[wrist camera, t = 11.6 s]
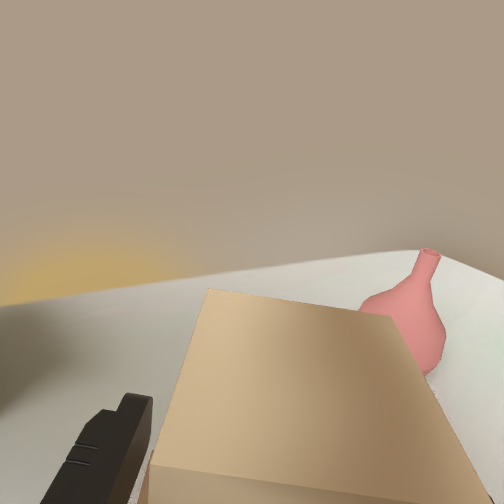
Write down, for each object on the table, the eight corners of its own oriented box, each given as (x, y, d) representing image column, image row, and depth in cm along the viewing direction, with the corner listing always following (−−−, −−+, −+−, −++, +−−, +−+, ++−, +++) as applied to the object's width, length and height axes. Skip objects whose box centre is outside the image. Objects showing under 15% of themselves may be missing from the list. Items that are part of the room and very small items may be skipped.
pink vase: (382, 411, 28) (441, 283, 23) (324, 348, 34) (361, 234, 29) (443, 387, 32) (506, 272, 27) (381, 334, 38) (423, 230, 33)
